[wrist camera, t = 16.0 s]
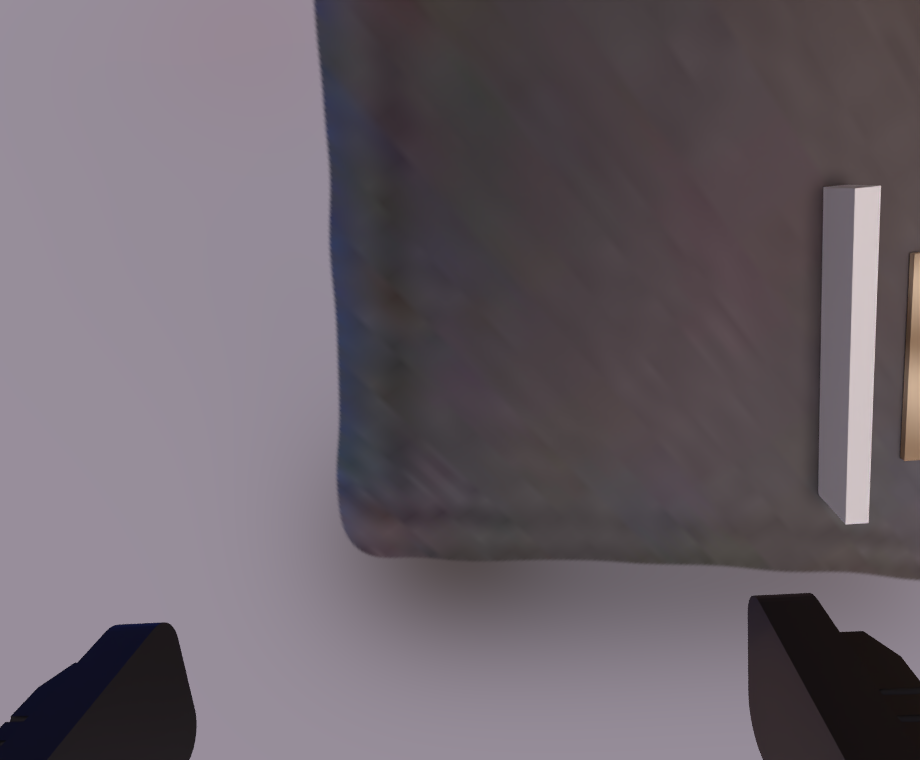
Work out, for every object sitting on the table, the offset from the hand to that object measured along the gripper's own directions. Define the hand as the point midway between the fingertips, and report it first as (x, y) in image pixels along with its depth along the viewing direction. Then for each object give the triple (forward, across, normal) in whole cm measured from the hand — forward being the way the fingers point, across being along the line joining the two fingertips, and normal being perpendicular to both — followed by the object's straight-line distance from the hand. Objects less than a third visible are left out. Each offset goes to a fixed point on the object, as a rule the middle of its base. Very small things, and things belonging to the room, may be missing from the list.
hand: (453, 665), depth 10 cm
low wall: (+34, -18, +5) cm, 39 cm away
